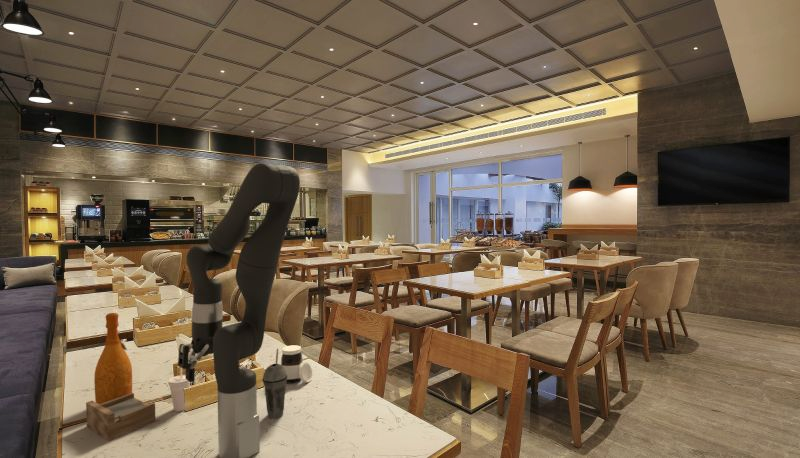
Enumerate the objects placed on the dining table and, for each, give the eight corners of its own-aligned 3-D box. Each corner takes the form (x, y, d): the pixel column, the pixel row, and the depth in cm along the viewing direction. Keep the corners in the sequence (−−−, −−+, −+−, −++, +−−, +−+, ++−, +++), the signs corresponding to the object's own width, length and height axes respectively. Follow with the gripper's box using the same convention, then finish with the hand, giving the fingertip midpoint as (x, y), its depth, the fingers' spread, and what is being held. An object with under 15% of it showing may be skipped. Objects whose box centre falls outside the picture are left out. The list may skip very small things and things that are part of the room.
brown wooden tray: (155, 420, 116) (154, 397, 116) (108, 440, 106) (108, 415, 105) (132, 408, 123) (132, 387, 123) (86, 426, 113) (86, 402, 113)
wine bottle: (128, 408, 123) (125, 315, 122) (90, 414, 120) (87, 318, 119) (136, 395, 132) (134, 308, 132) (101, 401, 129) (98, 311, 128)
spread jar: (283, 374, 150) (282, 344, 150) (313, 372, 152) (312, 342, 152) (279, 387, 138) (278, 355, 138) (311, 385, 140) (311, 353, 140)
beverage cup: (257, 417, 117) (256, 351, 117) (275, 406, 124) (274, 344, 123) (275, 423, 114) (274, 355, 114) (293, 412, 121) (292, 348, 120)
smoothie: (181, 414, 119) (180, 369, 119) (163, 412, 121) (162, 368, 120) (196, 404, 126) (195, 362, 125) (179, 403, 127) (178, 360, 127)
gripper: (189, 326, 97) (188, 389, 98) (239, 314, 109) (237, 370, 111) (173, 320, 101) (172, 381, 102) (222, 309, 113) (221, 363, 114)
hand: (206, 375), depth 106 cm, fingers open, 8 cm apart
